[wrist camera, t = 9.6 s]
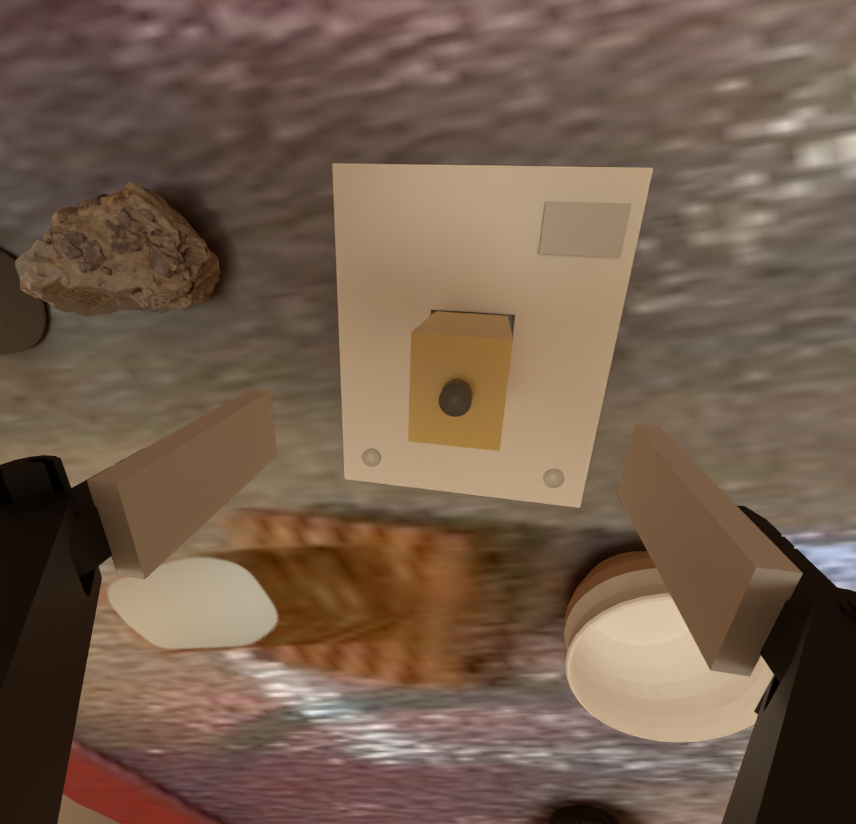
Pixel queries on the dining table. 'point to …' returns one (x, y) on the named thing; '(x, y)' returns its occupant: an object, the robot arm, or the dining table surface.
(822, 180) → the dining table surface
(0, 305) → the water bottle
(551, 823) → the planter
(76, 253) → the rock
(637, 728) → the bowl
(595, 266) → the socket plate
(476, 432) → the plug
